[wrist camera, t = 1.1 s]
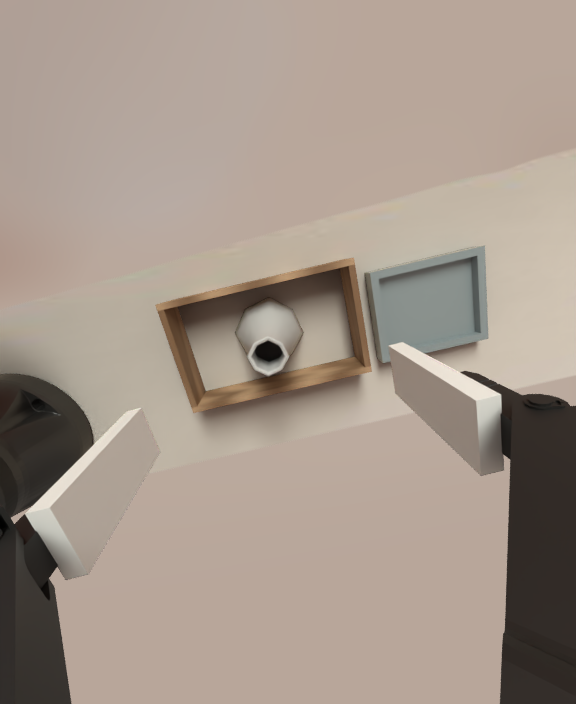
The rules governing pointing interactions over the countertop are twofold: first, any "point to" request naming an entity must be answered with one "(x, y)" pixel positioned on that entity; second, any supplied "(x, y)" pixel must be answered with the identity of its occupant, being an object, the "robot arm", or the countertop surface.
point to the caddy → (275, 383)
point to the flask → (269, 335)
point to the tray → (429, 302)
